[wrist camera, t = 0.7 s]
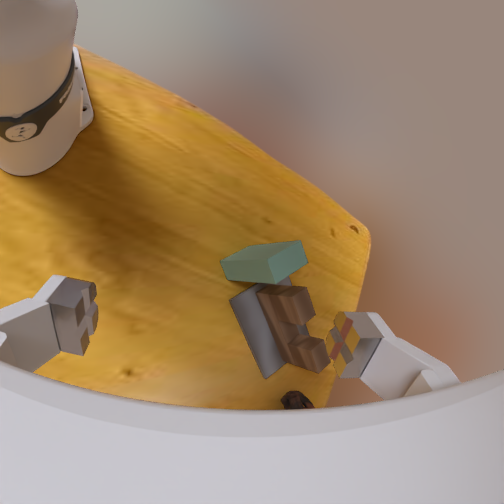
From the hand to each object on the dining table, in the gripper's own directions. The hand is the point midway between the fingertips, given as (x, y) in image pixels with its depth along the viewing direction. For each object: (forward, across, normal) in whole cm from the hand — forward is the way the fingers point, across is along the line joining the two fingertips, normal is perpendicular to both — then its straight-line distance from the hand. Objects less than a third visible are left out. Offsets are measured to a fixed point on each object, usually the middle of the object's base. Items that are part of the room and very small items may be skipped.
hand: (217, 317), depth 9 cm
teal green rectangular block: (+34, -6, +14) cm, 37 cm away
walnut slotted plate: (+32, -14, +24) cm, 42 cm away
